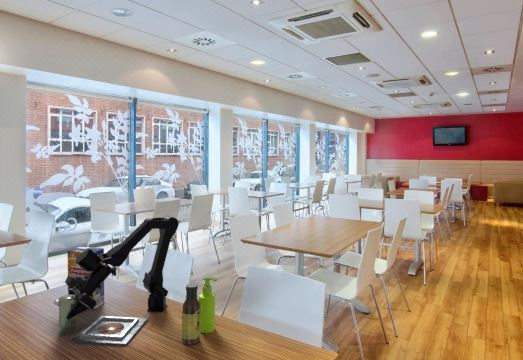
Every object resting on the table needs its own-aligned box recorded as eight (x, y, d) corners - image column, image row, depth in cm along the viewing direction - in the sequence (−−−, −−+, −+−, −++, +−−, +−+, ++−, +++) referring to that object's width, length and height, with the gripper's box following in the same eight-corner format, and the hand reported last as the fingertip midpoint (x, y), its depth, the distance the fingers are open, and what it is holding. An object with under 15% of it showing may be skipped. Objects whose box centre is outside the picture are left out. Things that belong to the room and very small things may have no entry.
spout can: (75, 325, 141) (75, 293, 140) (79, 331, 136) (79, 298, 135) (52, 331, 136) (51, 297, 135) (55, 338, 131) (55, 303, 130)
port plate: (147, 320, 147) (147, 315, 147) (125, 346, 127) (125, 341, 127) (98, 317, 148) (98, 313, 148) (69, 342, 128) (68, 337, 128)
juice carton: (104, 302, 162) (104, 248, 161) (93, 309, 155) (93, 252, 153) (79, 300, 165) (79, 246, 163) (68, 307, 157) (67, 250, 156)
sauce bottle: (200, 344, 129) (201, 288, 128) (182, 346, 128) (182, 289, 126) (199, 335, 135) (200, 281, 134) (181, 337, 134) (182, 282, 132)
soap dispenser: (214, 334, 136) (215, 280, 135) (196, 332, 138) (196, 279, 136) (219, 327, 142) (220, 275, 141) (202, 325, 144) (202, 274, 142)
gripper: (73, 260, 145) (41, 294, 138) (86, 272, 130) (51, 311, 124) (95, 276, 150) (65, 309, 144) (109, 290, 136) (77, 328, 129)
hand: (64, 314), depth 135 cm, fingers open, 9 cm apart
